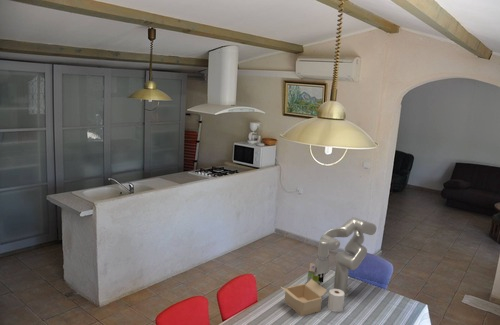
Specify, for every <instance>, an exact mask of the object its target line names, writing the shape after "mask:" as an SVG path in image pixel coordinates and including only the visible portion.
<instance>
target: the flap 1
mask: <svg viewBox="0 0 500 325" xmlns="http://www.w3.org/2000/svg"><path fill="white" fill-rule="evenodd" d="M280 288H281V289H282V290H283V291H284V292H285V291H286V292H287V293H288V294H289V295H290V296H292V297H293V298H294V299H295V300H298V301H300V300H299V299H298V298H296V297H295V296H294V295H293V294H292V293H290V292H289V291H288V290H287V289H286V288H285V287H282V286H280ZM300 302H301V301H300Z"/></svg>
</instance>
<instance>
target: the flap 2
mask: <svg viewBox="0 0 500 325" xmlns="http://www.w3.org/2000/svg"><path fill="white" fill-rule="evenodd" d="M305 285H306V286H308V287H309V288H310V289H311V290H313V291H314V292H315V293H316V294H318V295H319V296H320V297H322V296H324V295H325V294H326V292H328V290H327V289H326V288H325V287H323V286H322V285H321V284H320V285H319V284H318V283H316V282H315V281H314V280H312V279H311V280H310V281H309V282H308V283H307V282H306V283H305Z"/></svg>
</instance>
